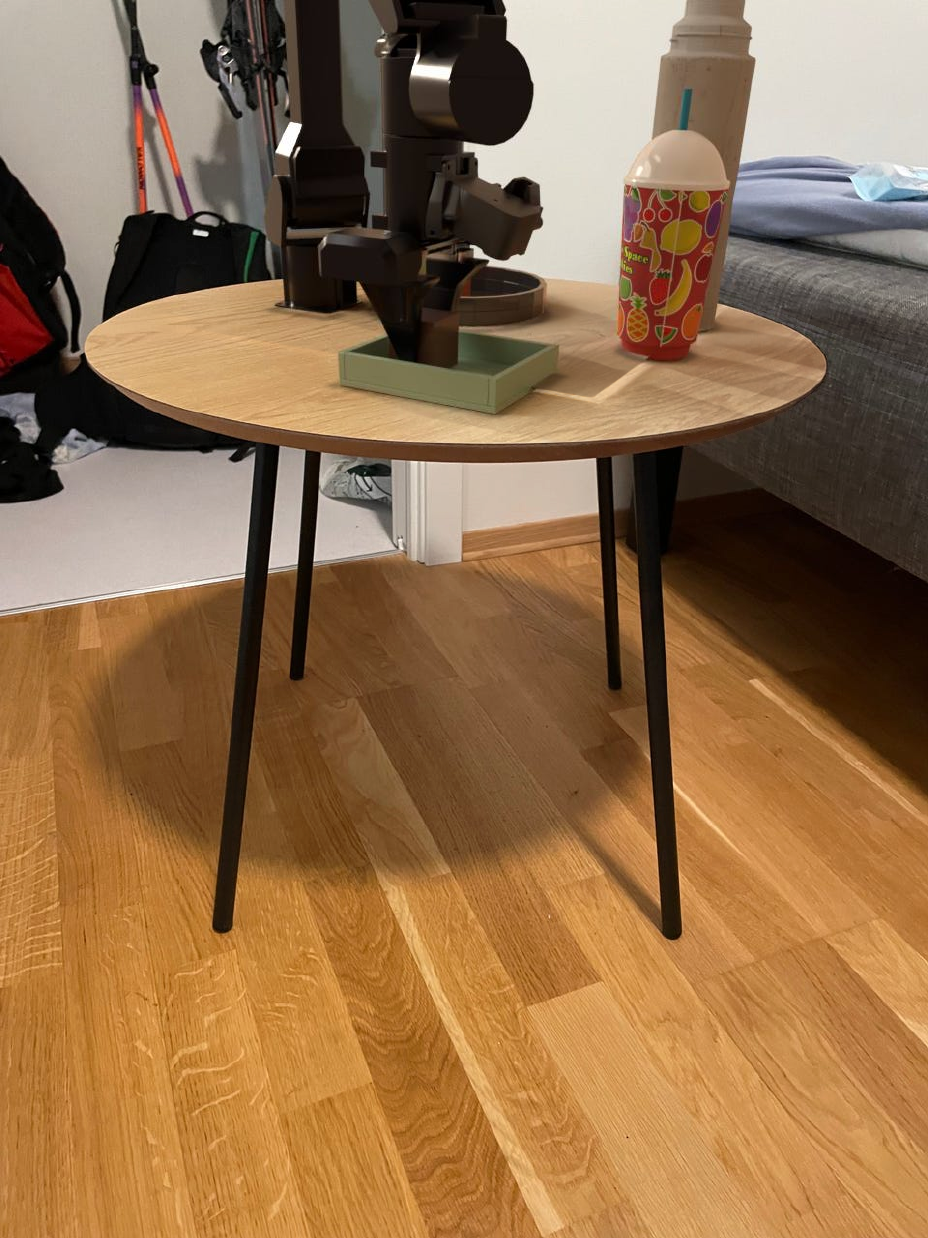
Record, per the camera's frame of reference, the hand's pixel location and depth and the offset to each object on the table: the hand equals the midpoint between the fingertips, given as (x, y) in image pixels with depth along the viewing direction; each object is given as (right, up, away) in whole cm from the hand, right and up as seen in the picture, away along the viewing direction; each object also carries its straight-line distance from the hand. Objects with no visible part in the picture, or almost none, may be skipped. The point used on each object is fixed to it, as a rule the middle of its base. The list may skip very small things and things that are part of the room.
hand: (422, 359), depth 73 cm
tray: (+2, -2, 0) cm, 3 cm away
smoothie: (+20, +3, +8) cm, 22 cm away
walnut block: (0, 0, 0) cm, 1 cm away
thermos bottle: (+24, +9, +18) cm, 31 cm away
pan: (+3, +11, +21) cm, 24 cm away
